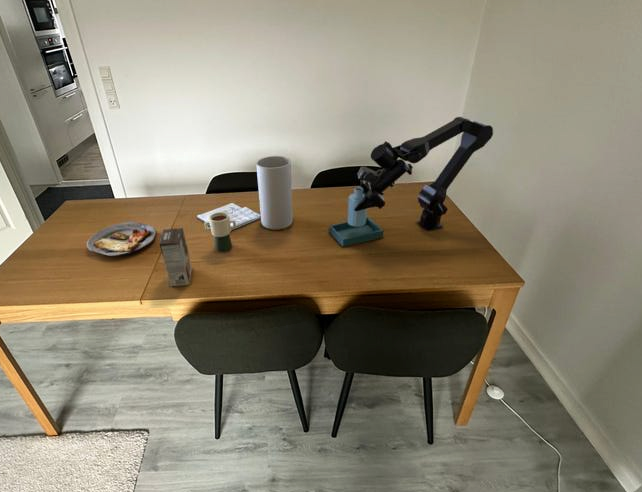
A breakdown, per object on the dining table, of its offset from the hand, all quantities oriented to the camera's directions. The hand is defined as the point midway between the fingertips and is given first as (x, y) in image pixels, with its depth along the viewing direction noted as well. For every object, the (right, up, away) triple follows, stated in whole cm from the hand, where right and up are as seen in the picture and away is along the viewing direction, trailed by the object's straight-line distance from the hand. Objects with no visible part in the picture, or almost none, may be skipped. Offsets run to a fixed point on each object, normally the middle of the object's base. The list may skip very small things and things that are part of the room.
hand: (353, 206), depth 133 cm
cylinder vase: (-27, -4, +18) cm, 32 cm away
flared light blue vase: (+2, -5, +4) cm, 7 cm away
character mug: (-46, -15, +4) cm, 49 cm away
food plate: (-86, -12, +12) cm, 88 cm away
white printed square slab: (-47, -2, +23) cm, 52 cm away
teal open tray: (+2, -10, +6) cm, 12 cm away
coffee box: (-59, -25, -9) cm, 64 cm away
